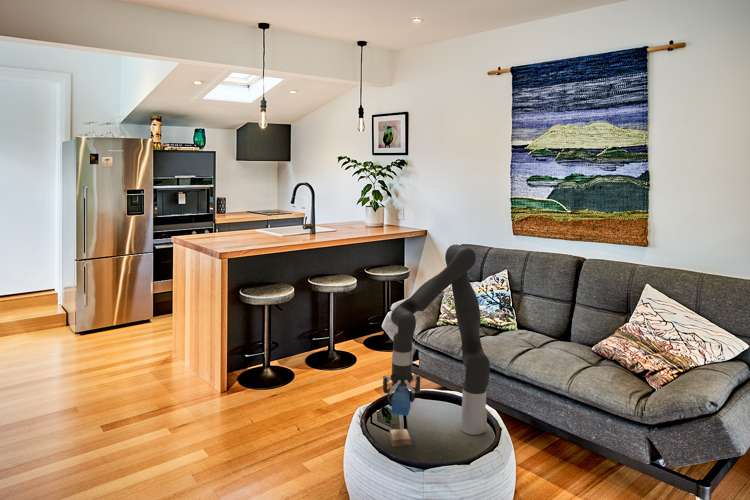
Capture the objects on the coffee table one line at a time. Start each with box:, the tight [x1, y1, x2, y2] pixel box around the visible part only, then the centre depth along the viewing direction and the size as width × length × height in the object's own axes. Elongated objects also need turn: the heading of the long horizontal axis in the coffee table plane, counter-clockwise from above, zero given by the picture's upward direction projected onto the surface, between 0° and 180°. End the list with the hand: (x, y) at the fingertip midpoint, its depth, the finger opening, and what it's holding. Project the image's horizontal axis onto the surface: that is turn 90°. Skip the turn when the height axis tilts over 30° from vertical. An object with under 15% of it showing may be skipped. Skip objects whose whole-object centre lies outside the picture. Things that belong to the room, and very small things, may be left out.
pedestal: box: [388, 428, 412, 447], centre depth 208 cm, size 7×7×3 cm
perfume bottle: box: [391, 382, 411, 417], centre depth 205 cm, size 6×6×12 cm
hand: (401, 401), depth 205 cm, fingers closed on perfume bottle, 7 cm apart
